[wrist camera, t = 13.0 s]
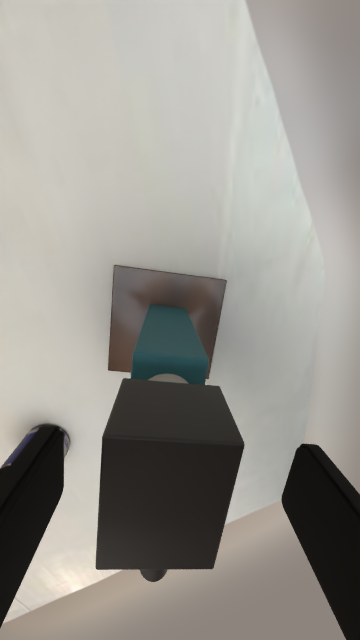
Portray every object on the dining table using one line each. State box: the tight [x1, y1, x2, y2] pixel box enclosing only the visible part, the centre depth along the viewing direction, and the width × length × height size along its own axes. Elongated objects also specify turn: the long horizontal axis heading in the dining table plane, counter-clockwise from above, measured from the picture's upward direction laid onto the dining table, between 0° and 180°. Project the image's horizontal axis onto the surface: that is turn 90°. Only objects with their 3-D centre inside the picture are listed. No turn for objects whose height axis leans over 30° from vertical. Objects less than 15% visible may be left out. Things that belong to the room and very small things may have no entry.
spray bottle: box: [96, 304, 244, 582], centre depth 16 cm, size 7×4×18 cm, turn 172°
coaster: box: [108, 265, 226, 379], centre depth 25 cm, size 12×12×1 cm
